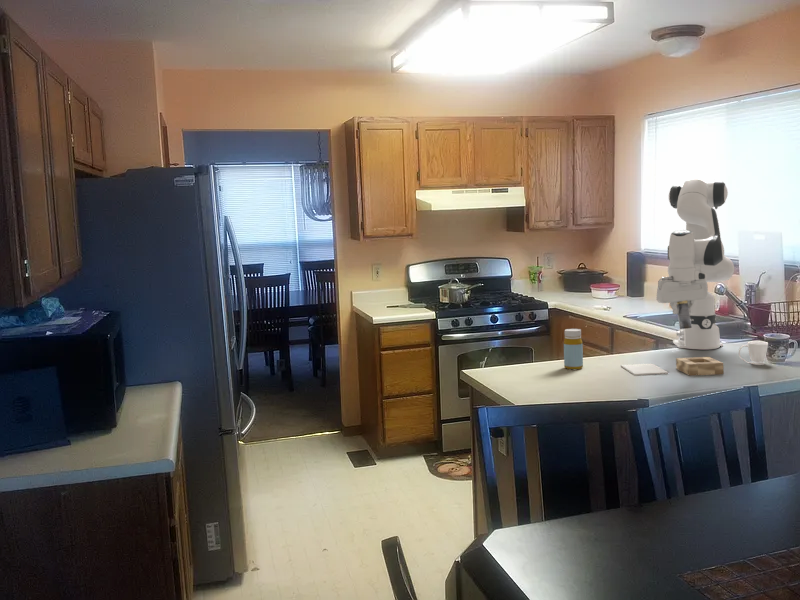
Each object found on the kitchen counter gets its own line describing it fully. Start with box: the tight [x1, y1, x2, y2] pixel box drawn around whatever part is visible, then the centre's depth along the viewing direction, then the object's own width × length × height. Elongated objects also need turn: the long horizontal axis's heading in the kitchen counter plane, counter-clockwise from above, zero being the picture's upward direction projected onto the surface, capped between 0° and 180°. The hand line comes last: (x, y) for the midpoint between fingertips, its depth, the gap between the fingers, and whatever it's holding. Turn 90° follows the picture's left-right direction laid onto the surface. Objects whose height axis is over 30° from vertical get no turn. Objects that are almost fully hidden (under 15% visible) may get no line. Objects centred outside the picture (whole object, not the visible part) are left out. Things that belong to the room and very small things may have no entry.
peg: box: [676, 300, 692, 329], centre depth 244 cm, size 4×4×10 cm
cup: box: [738, 340, 769, 366], centre depth 253 cm, size 7×10×8 cm
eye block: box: [675, 356, 724, 377], centre depth 245 cm, size 12×12×4 cm
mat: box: [620, 363, 669, 376], centre depth 251 cm, size 16×12×1 cm
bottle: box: [563, 328, 584, 370], centre depth 260 cm, size 7×7×15 cm
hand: (682, 313), depth 244 cm, fingers closed on peg, 4 cm apart
